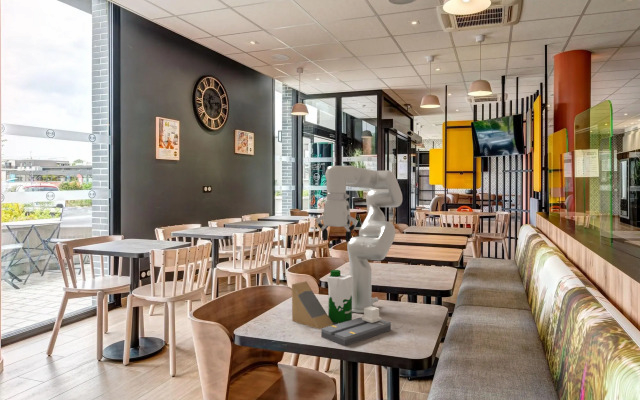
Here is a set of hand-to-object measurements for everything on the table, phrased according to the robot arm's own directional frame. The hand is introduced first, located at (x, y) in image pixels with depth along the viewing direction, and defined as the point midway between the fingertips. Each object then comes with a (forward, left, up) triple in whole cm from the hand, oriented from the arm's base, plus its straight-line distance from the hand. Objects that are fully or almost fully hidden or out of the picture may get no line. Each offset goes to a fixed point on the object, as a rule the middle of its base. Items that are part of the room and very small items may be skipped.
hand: (336, 240), depth 179 cm
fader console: (+4, +15, -32) cm, 36 cm away
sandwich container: (+7, -6, -33) cm, 34 cm away
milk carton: (-2, 0, -33) cm, 33 cm away
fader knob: (-4, +15, -30) cm, 34 cm away
